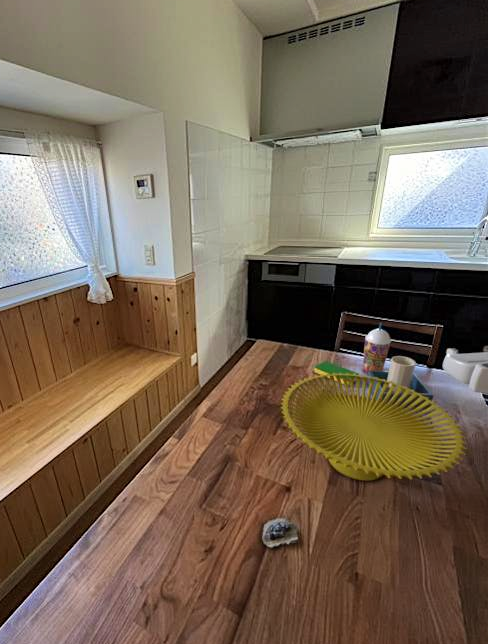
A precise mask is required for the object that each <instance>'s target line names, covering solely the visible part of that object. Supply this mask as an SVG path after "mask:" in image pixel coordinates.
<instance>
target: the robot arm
mask: <svg viewBox="0 0 488 644" xmlns="http://www.w3.org/2000/svg"><path fill="white" fill-rule="evenodd" d="M445 354H446V355H445V356H444V358H443V362H442V369H443V370H444V371H445V372H446V373H447V374H448V375H450V376H451V377H453V378H454V379H455V380H457V381H459V382H460V383H463V384H465V385H469V386H468V388H469V390H471V391H472V392H474V393H480V394H488V345H484V347H483V349H482V352H471V353H459V350H458V349H457V348H455V347H453V348H452V347H450V348H447V349H446V352H445Z"/></svg>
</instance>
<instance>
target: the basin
mask: <svg viewBox="0 0 488 644" xmlns="http://www.w3.org/2000/svg"><path fill="white" fill-rule="evenodd" d="M388 373H389V370H383V371H375V370H368V373H367V375H366V376H370V377H374V378H375V377H377V378H379V379H385V380H386V381H387V378H388ZM369 383H370V378H367V383H366V385H368V386H369ZM376 384H377V380H376V379H375V380H374V383H373V387H372V391H371V393H372V395H373V394H374V391H375V387H376ZM383 385H384V381H382V383H381V385H380V387H379V390H378V393H377V396H376V400H377V399H378V397H379V395H380V393H381V390H382V388H383ZM410 390H415V392H417V393H422V396H424V397H429V400H431V401H434V400H433V399H434V397H435V395H434V393H433V392H432V391H431V390H430V389H429V387H428V386H427V385H426V384H425V383H424V382H423V381H422V380H421V379H420V378H419V377H418V375H417V374H416V373H415V372H414V373H413V377H412V381H411V385H410ZM387 393H388V392H386V391H385V393H384V395H383V397H382V400H381V402H382V401H383V400H384V398H385V397H386V395H387ZM394 394H395V392H392V393H391V395H390V397H389V399H388V400H387V403H388V402H389V401H390V400H391V399H392V397H393V396H394ZM403 394H404V393H400V394H399V395H398V396H397V398H396V399H395V400H394V402H393V403H392V405H391V406H393V405H394V404H395V403H396V402H397V401H398V400H399V399H400V397H401V396H402V395H403ZM412 394H413V392H410V393H409V394H408V395H407V396H406V397H405V398H404V399H403V400H402V401H401V402H400V404H399V405H398V406H397V407H399V406H401V405H402V404H403V403H404V402H405V401H406V400H407V399H408V398H409V397H410V396H411V395H412ZM419 397H420V396H416V397H415V398H414V399H413V400H411V401H410V402H409V403H408V404H407V405H406V406H405V407H404V408H407V407H409V406H410V405H411V404H412V403H414V402H415V401H416V400H417V399H418V398H419ZM425 401H427V400H425V399H424V400H422V401H421V402H419V403H418V404H417V405H415V406H414V407H413V408H417V407H419V406H420V405H421V404H423V403H424V402H425ZM387 403H386V404H387ZM430 406H432V404H431V403H430V404H428V405H427V406H425V407H423V408H425V409H427V408H429V407H430Z"/></svg>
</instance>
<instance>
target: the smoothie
mask: <svg viewBox="0 0 488 644" xmlns="http://www.w3.org/2000/svg"><path fill="white" fill-rule="evenodd" d="M382 325H383V322H379V326H378V328H375V329H372V330H371V331H369V332H368V334H367V335H365V337H364V347H363V358H362V368H363V371H364V372H365V373H366V374H368V370H375V371H384V367H385V364H386V360H387V357H388V353H389V349H390V346H391V343H392V338H391V337H390V334H389V333H388V331H386V330H384V329H382Z"/></svg>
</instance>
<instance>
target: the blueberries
mask: <svg viewBox="0 0 488 644" xmlns="http://www.w3.org/2000/svg"><path fill="white" fill-rule="evenodd" d="M289 521H290V520H289V518H288V517H278V518H277V517H276V518H275V519H274V518H273V519H272V520H268V521H267V522H266V523H264V525H263V527H262V531H263V532H262V536H261V540H262V542H263V544H264V545H266V546H267V547H269V548H274V547H279V546H280V545H281V544H282V546H283V545H284V544H286V545H290V543H291V544H295V543H297V542H298V540H299V534H298V527H297V526H294V523H293V522H289Z"/></svg>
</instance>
